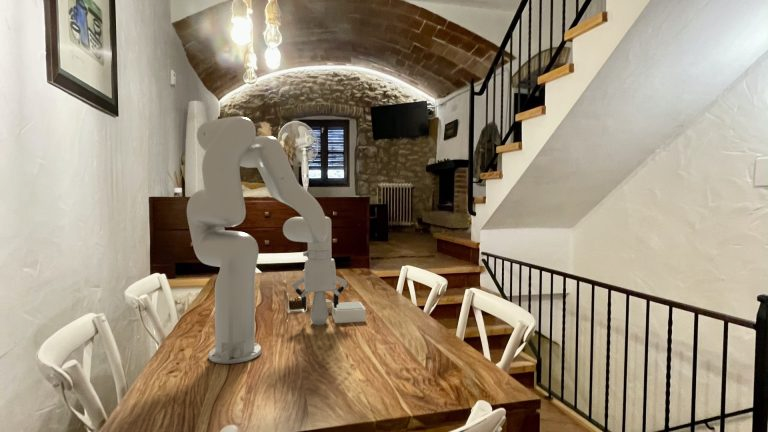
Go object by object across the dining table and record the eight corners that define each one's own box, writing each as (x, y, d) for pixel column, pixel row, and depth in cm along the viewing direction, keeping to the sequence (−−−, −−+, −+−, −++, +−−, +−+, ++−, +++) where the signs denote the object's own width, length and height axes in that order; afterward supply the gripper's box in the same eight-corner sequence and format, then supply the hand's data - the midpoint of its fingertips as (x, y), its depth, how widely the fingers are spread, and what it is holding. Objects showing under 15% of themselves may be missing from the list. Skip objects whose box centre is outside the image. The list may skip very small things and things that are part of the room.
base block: (365, 321, 134) (365, 308, 133) (335, 323, 131) (335, 310, 131) (360, 312, 143) (360, 300, 143) (331, 314, 141) (331, 302, 141)
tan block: (332, 312, 144) (332, 301, 144) (322, 314, 142) (322, 302, 142) (327, 309, 147) (327, 299, 147) (317, 311, 145) (317, 300, 145)
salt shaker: (330, 321, 134) (330, 281, 133) (326, 326, 128) (326, 285, 127) (312, 320, 134) (312, 281, 134) (307, 325, 129) (307, 284, 128)
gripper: (292, 257, 125) (292, 313, 126) (348, 255, 129) (348, 309, 130) (291, 254, 132) (292, 306, 133) (345, 252, 136) (345, 303, 137)
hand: (320, 307), depth 131 cm, fingers open, 9 cm apart
